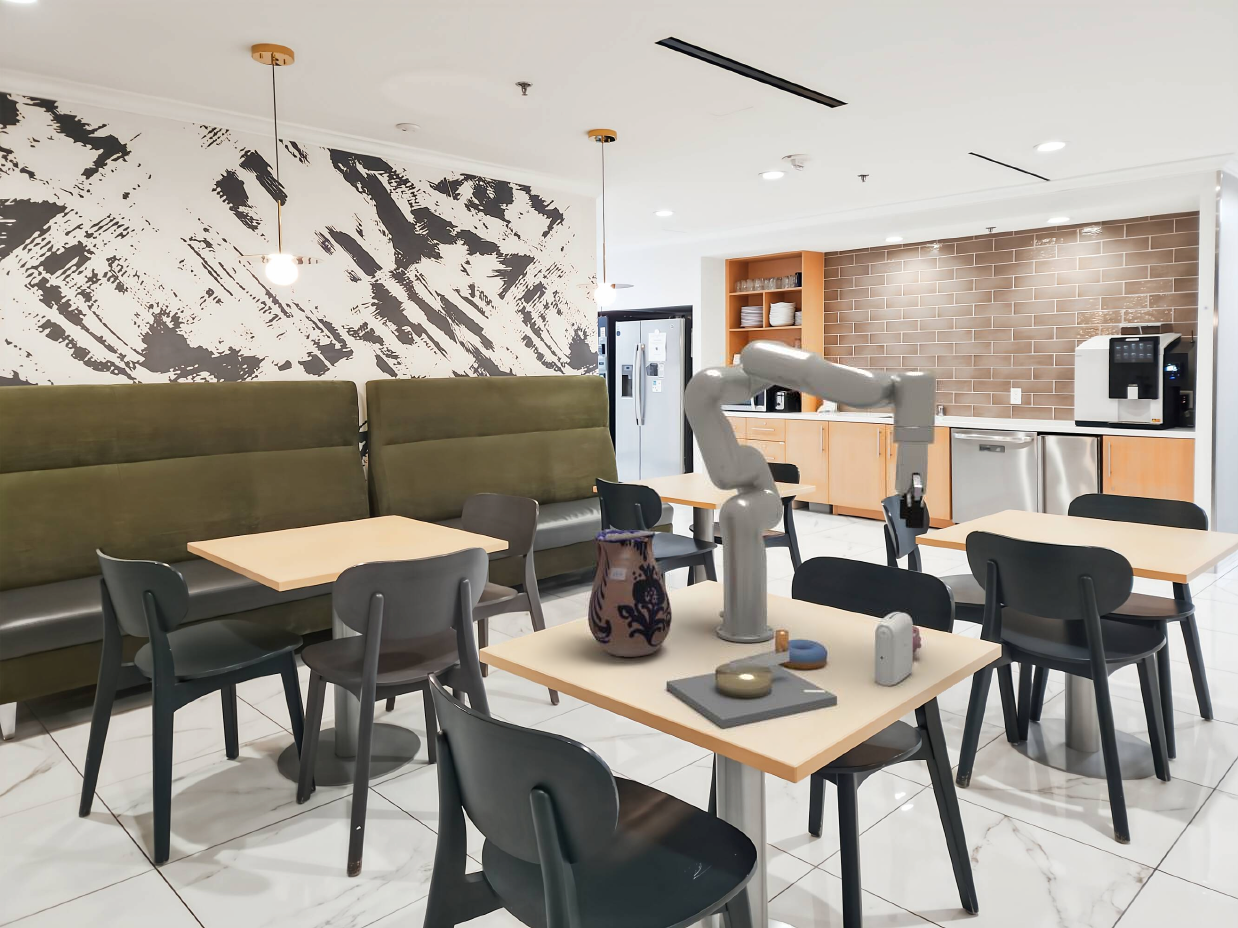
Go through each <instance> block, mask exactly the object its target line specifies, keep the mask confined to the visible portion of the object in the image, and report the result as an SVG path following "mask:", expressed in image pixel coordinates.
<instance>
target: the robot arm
mask: <svg viewBox="0 0 1238 928" xmlns="http://www.w3.org/2000/svg"><path fill="white" fill-rule="evenodd" d="M739 355H740V356H739V363H738V364H737V365H735V366H710V367H706V368H704V369H701V370H699V371H698V372H696V373H695V374H694V375H693V376H692V377H691V378H690V380H689V382H688V383H687V384H686V385H687V386H686V388H685V390H684V393H683V394H684V395H683V407H684V412H685V416H686V418H687V420H688V423H689V425H690V428H691V430H692V433H693V435H694V438H695V440H696V442H697V446H698V449H699V452H700V455H701V457H702V460H703V463H704V465H705V468H706V471H707V474H708V477H709V479H710V481H711V483H712V484H713V485H714V486H715V488H717V489H719V490H723V491H731V490H736V492H737V494H735V495H733V496H731V497H729V498H728V499H726V500H725V501H724V503H722V506H721V508H720V510H719V514H718V523H719V525H718V526H719V531H720V536H721V541H722V566H723V567H722V568H723V571H722V572H723V611H722V610H721V611H720V612H719V613H718V616H719V617H720V618H721V619H722V624H721V625H719V626H718V627H717V628H716V635H717V636H718V637H719V638H720V639H723V640H725V641H728V642H729V641H730V642H735V643H748V644H749V643H750V644H751V643H759V642H760V643H761V642H765V641H770V640H771V639H772V638H773V637H774V636H775V629H774V628H773V627H771V626H769V625H768V602H767V601H768V589H767V588H768V586H767V585H768V583H767V582H768V577H767V576H768V570H767V569H768V567H767V566H768V565H767V563H768V561H767V549H766V544H765V541H764V536H763V533H764V532H767V531H770V530H773V529H774V528H775V527H777V526H778V525H779V524H780V522H781V521H782V519H783V514H784V506H783V505H784V504H783V501H782V498H781V495H780V493H779V490H778V487H777V484H776V482H775V479H774V477H773V474H772V471H771V468H770V466H769V464H768V462H767V459H766V458H765V456H764V455H763V453H762V452H761V451H759V450H758V448H756V447H754V446H751V445H748V444H740V443H739V440H738V438H737V436H736V433H735V431H734V428H733V425H732V423H731V421H730V420H729V418H728V417H727V416H726V415H725V413H724V412H723V410H722V406H727V405H728V406H729V405H730V406H731V405H740V404H743V403H745V402H748V401H749V400H751V399H753V398H755V397H756V396H758V395H760V394H761V393H763V392H766V390H768V389H771V388H772V387H773V386H774V385H776V386H779V387H782V388H786V389H790V390H793V391H797V392H800V393H803V394H807V395H808V396H812V397H815V398H818V399H820V400H823V401H827V402H830V403H834V404H837V405H841V406H845V407H849V408H852V409H858V410H865V411H866V410H873V409H874V410H878V409H885V408H892V407H893V431H892V432H893V433H892V435H893V436H892V443H893V444H897V451H896V461H895V479H894V480H895V481H894V489H895V491H896V492H897V493H898V494H899V495H900V498H899V519H900V520H905V521H904V522H905V524H904V525H905V527H906V528H907V529H923V528H924V522H925V521H924V520H925V518H924V517H925V507H924V496H925V495H927V494H926V493H927V489H928V488H927V486H928V462H929V445H933V444H935V429H936V427H935V426H936V425H935V424H936V421H935V420H936V396H937V395H936V393H937V378H936V375H935V374H934V373H933V372H932V371H927V370H924V371H923V370H916V371H915V370H910V371H907V370H906V371H900V372H897V371H891V370H889V371H888V370H883V369H882V370H881V369H878V370H876V369H869V370H868V369H861V368H856V367H852V366H847V365H844V364H839V363H835V362H833V361H829V360H826V359H825V358H823V357H822V355H821V354H820V353H818V352H815V351H811V350H806V349H803V348H798V347H793V346H789V345H788V344H786V343H785V342H783V341H779V340H770V339H769V340H768V339H767V340H766V339H757V340H754V341H753V340H752V341H750V342H749V343H748V344H747V345H746V346H744V347H743V348H742V350H741V353H740V354H739Z"/></svg>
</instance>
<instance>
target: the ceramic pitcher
mask: <svg viewBox="0 0 1238 928" xmlns="http://www.w3.org/2000/svg"><path fill="white" fill-rule="evenodd" d="M655 535H656V532H654V531H646V530H641V529H639V530H638V529H637V530H632V529H630V530H626V529H625V530H617V529H615V530H614V529H608V528H606V529H604V530H601V531H600V532H599V533H597V534H596V535H595V537H594V539H595V540H596V556H597V561H598V566H597V569H596V575H595V577H594V581H593V584H592V589H591V593H590V596H589V601H588V612H587V614H588V615H587V620H588V627H589V630H590V632H591V634H592V636H593V637H594V639H595V641H596V642H597V644H599V646H600V647H601V648H602V649H603V650H605V651H606V652H608V653H609V654H611V655H612V654H613V656H615V655H616V656H615V657H621V656H622V657H623V656H624V657H626V658H634V657H635V658H637V657H642V656H648V655H650V654H652V653H654V652H655V651H657V649H659V647H661V646H662V645H663V644H664V642H665V640H666V639H667V637H668V634H669V632H670V629H671V624H672V616H673V615H672V607H671V603H670V598H669V595H668V592H667V588H666V585H665V583H664V580H663V577H662V574H661V572H660V569H659V566H658V564H657V560H656V558H655V555H654V551H653V539H654V538H655Z"/></svg>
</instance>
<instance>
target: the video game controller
mask: <svg viewBox="0 0 1238 928" xmlns="http://www.w3.org/2000/svg"><path fill="white" fill-rule="evenodd" d="M921 641H922V637H921V636H920V629H919V628H918V627H917V626H915V625H913V653H915V652H917V650H918V649H921V648H922V643H921Z"/></svg>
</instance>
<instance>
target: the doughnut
mask: <svg viewBox="0 0 1238 928" xmlns="http://www.w3.org/2000/svg"><path fill="white" fill-rule="evenodd" d="M827 660H828V650H827V648H826V647H825V646H824V645H823V644H821V643H820V642H817V641H815V640H810V639H801V638H800V639H790V640H789V661H787V662H783V663H780V664H781V665H783V666H785V667H787V668H791V669H795V670H814V669H817V668H820V667H823V666H824V665H825V664H826V662H827Z"/></svg>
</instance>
